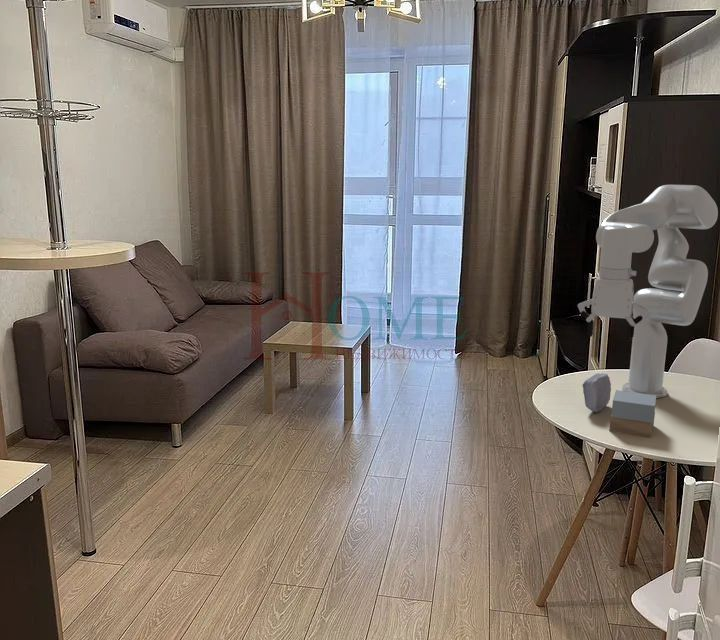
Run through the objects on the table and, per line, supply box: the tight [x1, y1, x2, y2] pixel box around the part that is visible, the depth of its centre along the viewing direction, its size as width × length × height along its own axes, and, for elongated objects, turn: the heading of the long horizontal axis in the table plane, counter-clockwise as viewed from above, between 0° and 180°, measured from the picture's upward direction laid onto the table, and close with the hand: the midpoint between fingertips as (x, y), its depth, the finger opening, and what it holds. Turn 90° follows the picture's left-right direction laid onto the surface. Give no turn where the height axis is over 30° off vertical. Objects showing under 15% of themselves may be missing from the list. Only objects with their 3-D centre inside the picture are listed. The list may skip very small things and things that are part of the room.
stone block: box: [582, 373, 612, 413], centre depth 197 cm, size 12×5×10 cm, turn 141°
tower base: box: [608, 412, 656, 439], centre depth 184 cm, size 9×10×4 cm
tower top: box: [610, 390, 657, 423], centre depth 183 cm, size 9×10×4 cm
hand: (609, 337), depth 186 cm, fingers open, 9 cm apart
